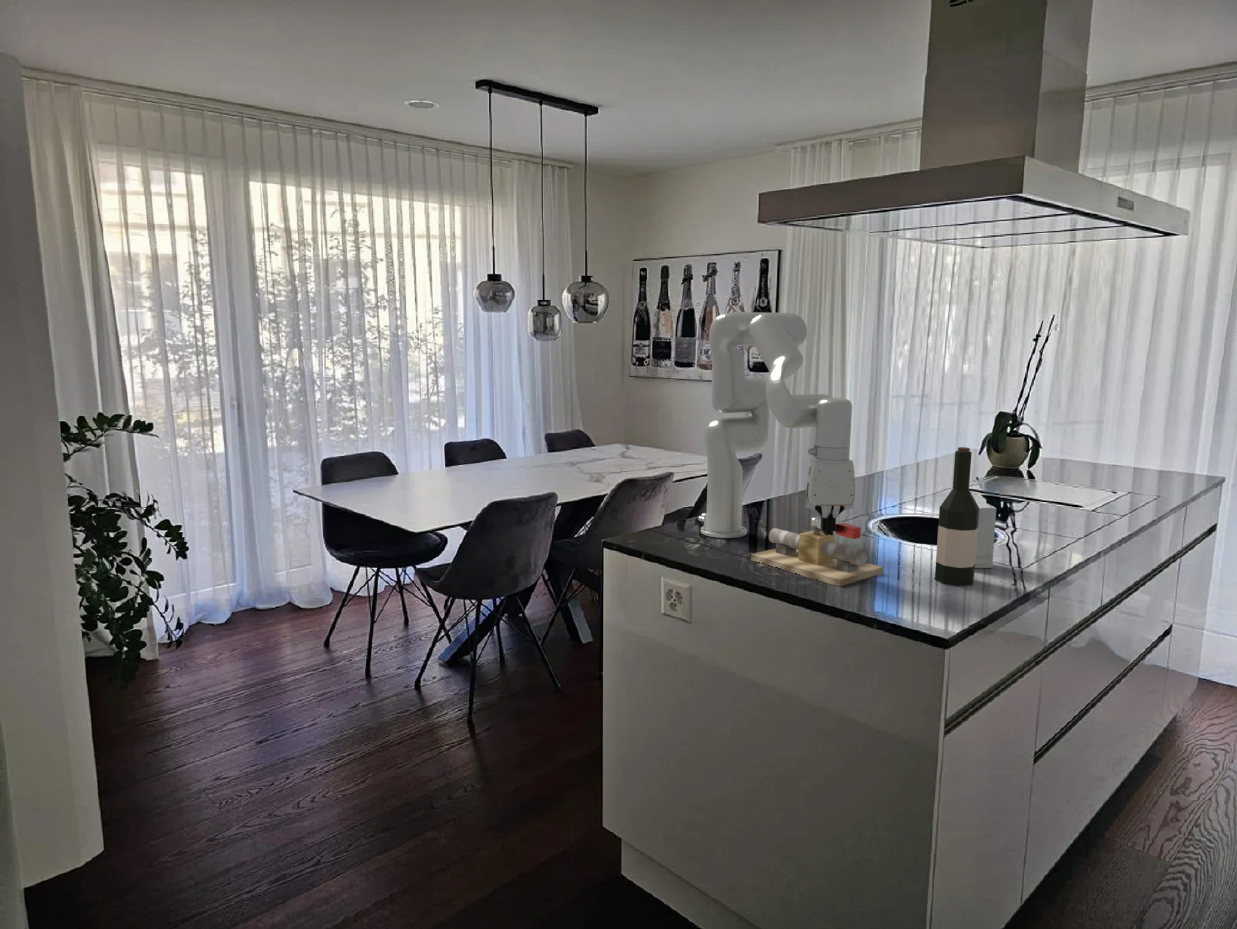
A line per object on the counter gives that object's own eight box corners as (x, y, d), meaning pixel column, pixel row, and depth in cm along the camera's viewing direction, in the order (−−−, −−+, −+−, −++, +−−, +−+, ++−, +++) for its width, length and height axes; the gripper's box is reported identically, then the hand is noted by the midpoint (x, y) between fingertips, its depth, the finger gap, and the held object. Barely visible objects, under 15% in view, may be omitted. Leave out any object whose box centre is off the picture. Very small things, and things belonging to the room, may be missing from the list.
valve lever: (852, 539, 183) (853, 528, 183) (808, 526, 195) (809, 516, 194) (860, 537, 185) (861, 527, 184) (816, 525, 196) (817, 515, 196)
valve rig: (751, 560, 201) (752, 522, 200) (794, 549, 211) (795, 513, 209) (839, 586, 181) (841, 544, 179) (882, 573, 191) (885, 533, 189)
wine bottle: (960, 588, 180) (970, 452, 175) (926, 579, 187) (935, 447, 182) (981, 581, 185) (992, 448, 180) (948, 572, 191) (957, 444, 186)
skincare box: (981, 561, 201) (985, 501, 198) (993, 569, 195) (998, 507, 192) (947, 562, 200) (951, 502, 198) (958, 569, 194) (963, 507, 192)
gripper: (802, 456, 181) (798, 538, 184) (870, 456, 181) (865, 538, 184) (794, 451, 188) (791, 529, 191) (860, 451, 188) (855, 529, 191)
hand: (827, 533), depth 188 cm, fingers closed
